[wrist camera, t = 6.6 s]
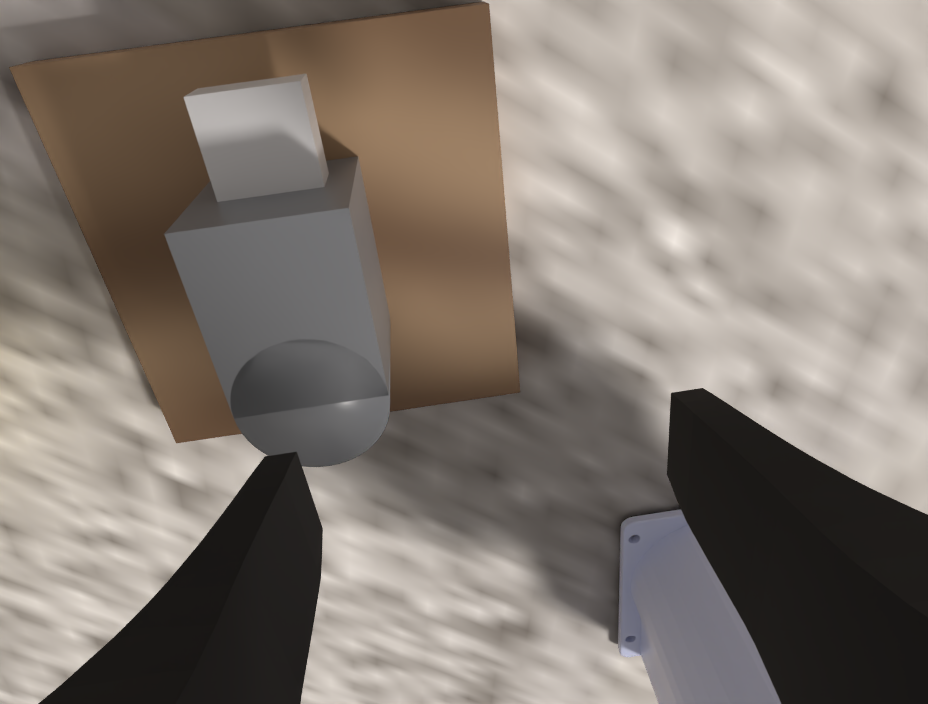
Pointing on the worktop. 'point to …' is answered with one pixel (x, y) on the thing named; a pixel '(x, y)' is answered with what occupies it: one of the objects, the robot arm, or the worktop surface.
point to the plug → (285, 274)
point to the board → (343, 136)
